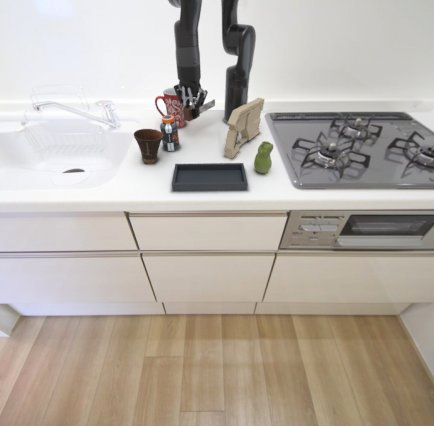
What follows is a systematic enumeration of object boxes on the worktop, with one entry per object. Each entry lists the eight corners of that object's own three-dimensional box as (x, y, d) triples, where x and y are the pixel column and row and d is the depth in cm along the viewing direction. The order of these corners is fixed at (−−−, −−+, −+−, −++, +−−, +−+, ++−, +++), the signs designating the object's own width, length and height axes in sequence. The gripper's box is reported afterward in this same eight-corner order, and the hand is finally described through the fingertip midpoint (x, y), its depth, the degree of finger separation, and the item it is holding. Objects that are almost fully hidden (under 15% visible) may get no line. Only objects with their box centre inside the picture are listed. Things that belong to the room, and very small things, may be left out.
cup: (171, 160, 81) (168, 132, 74) (149, 170, 77) (143, 142, 70) (157, 150, 86) (152, 123, 79) (135, 160, 81) (128, 132, 74)
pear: (258, 164, 79) (263, 136, 72) (273, 170, 76) (279, 141, 69) (249, 172, 76) (253, 143, 69) (264, 178, 73) (269, 149, 66)
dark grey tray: (172, 191, 69) (171, 184, 67) (176, 170, 77) (175, 163, 75) (246, 190, 69) (247, 183, 67) (242, 169, 77) (243, 162, 75)
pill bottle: (176, 152, 85) (173, 121, 77) (161, 150, 86) (156, 120, 78) (181, 144, 89) (178, 114, 81) (166, 143, 90) (162, 112, 82)
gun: (230, 160, 80) (236, 115, 71) (222, 158, 82) (226, 113, 72) (258, 138, 96) (265, 98, 87) (251, 136, 98) (257, 96, 88)
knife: (211, 105, 95) (211, 94, 92) (217, 106, 94) (217, 96, 91) (184, 120, 86) (183, 108, 83) (189, 121, 85) (188, 110, 82)
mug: (187, 119, 105) (185, 86, 96) (188, 128, 99) (186, 94, 89) (158, 121, 104) (153, 88, 95) (158, 130, 98) (152, 95, 88)
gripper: (213, 63, 73) (213, 118, 86) (179, 57, 79) (184, 109, 92) (198, 68, 69) (200, 125, 81) (164, 62, 75) (171, 116, 88)
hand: (191, 116), depth 86 cm, fingers closed on knife, 2 cm apart
